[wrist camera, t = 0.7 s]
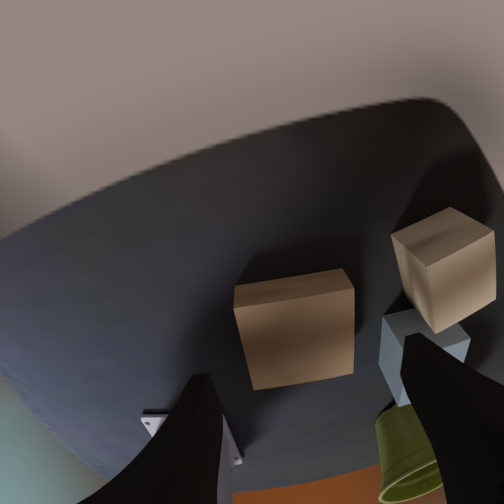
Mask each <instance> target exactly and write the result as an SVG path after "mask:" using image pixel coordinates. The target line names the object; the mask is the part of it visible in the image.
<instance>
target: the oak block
mask: <svg viewBox="0 0 504 504" xmlns="http://www.w3.org/2000/svg"><path fill="white" fill-rule="evenodd" d="M233 309H234V313H235V317H236V321H237V325H238V330H239V334H240V338H241V342H242V346H243V350H244V354H245V358H246V362H247V366H248V370H249V374H250V377H251V381H252V385H253V389H254V390H259V389H267V388H274V387H281V386H288V385H294V384H300V383H306V382H312V381H317V380H323V379H328V378H333V377H338V376H342V375H347V374H352V373H353V364H354V322H355V300H354V287H353V285H352V283H351V282H350V280H349V278H348V277H347V275H346V273H345V272H344V270H343V268H340V269H335V270H329V271H323V272H317V273H311V274H305V275H299V276H293V277H287V278H281V279H275V280H269V281H262V282H256V283H250V284H243V285H237V286H235V292H234V307H233Z"/></svg>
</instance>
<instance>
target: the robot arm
mask: <svg viewBox="0 0 504 504" xmlns="http://www.w3.org/2000/svg"><path fill="white" fill-rule="evenodd" d="M400 377H401V380H402V383H403V386H404V388H405V391H406V394H407V397H408V399H409V401H410V403H411V405H412V407H413V409H414V411H415V413H416V414H417V416H418V418H419V420H420V422H421V424H422V426H423V428H424V430H425V433H426V435H427V437H428V439H429V441H430V443H431V446H432V448H433V451H434V454H435V457H436V460H437V464H438V467H439V471H440V474H441V478H442V482H443V486H444V490H445V495H446V500H447V504H504V385H502V384H500V383H498V382H496V381H494V380H492V379H490V378H488V377H486V376H484V375H482V374H481V373H479V372H477V371H476V370H474V369H472V368H471V367H469V366H467V365H466V364H464V363H463V362H461V361H460V360H458V359H457V358H455V357H454V356H452V355H451V354H450V353H448V352H447V351H445V350H444V349H442V348H441V347H440V346H438V345H437V344H435V343H434V342H433V341H431V340H430V339H429V338H427V337H426V336H424V335H423V334H421V333H420V332H418V333H414V334H411V335H407V336H405V340H404V348H403V356H402V363H401V369H400ZM141 421H142V422H143V424H144V425H145V427H146V428H147V430H148V431H149V433H150V434H151V436H152V439H151V440H150V441H149V442H148V444H147V445H146V446H145V447H144V448H143V450H142V451H141V452H140V453H139V454H138V455H137V456H136V457H135V458H134V459H133V460H132V461H131V462H130V463H129V464H128V465H127V466H126V467H125V468H124V469H123V470H122V471H121V472H120V473H119V474H118V475H117V476H116V477H114V478H113V479H112V480H111V481H109V482H108V483H107V484H106V485H105V486H103V487H102V488H101V489H99V490H98V491H97V492H95V493H94V494H92V495H90V496H89V497H87V498H86V499H84V500H82V501H81V502H79V503H77V504H232V501H233V465H235V464H241V463H243V459H242V457H241V455H240V452H239V450H238V448H237V445H236V443H235V441H234V438H233V436H232V433H231V431H230V428H229V426H228V424H227V421H226V419H225V416H224V414H223V408H222V405H221V403H220V400H219V398H218V396H217V393H216V391H215V388H214V386H213V383H212V380H211V378H210V375H209V373H206V374H196V375H192V376H191V377H190V379H189V381H188V383H187V384H186V386H185V388H184V390H183V391H182V393H181V395H180V397H179V398H178V400H177V402H176V403H175V405H174V407H173V408H172V410H171V411H170V413H169V414H144V415H141Z"/></svg>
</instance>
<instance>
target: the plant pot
mask: <svg viewBox="0 0 504 504" xmlns="http://www.w3.org/2000/svg"><path fill="white" fill-rule="evenodd" d="M375 427H376V434H377V440H378V447H379V454H380V461H381V470H382V480H381V492H380V493H379V496H378V498H379V501H380V502H382V503H397V502H403V501H407V500H410V499H413V498H416V497H419V496H422V495H424V494H427V493H428V492H431V491H432V490H435V489H437V488H439V487H440V486H442V485H443V482H442V478H441V474H440V471H439V467H438V464H437V460H436V457H435V454H434V451H433V448H432V446H431V443H430V441H429V439H428V437H427V435H426V433H425V430H424V428H423V426H422V424H421V422H420V420H419V418H418V416H417V414H416V413H415V411H414V409H413V407H412V405H411V404H407V405H404V406H401V407H398V406H397V403H395V405H394V406H393V407H392V408H390V409H389V410H386V411H383V412H382V413H381V414H380V416H379V417H378V418H377V420H376V424H375Z"/></svg>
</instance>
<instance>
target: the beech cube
mask: <svg viewBox="0 0 504 504" xmlns="http://www.w3.org/2000/svg"><path fill="white" fill-rule="evenodd" d="M391 238H392V242H393V245H394V249H395V253H396V257H397V261H398V266H399V270H400V274H401V279H402V283H403V288H404V293H405V295H406V297H407V298H408V299H409V300H410V302H411V303H412V304H413V305H414V307H415V308H416V309H417V311H418V312H419V313H420V314H421V316H422V317H423V318H424V320H425V321H426V322H427V324H428V325H429V326H430V328H431V329H432V330H433V332H434V333H435V334H437V333H439V332H441V331H443V330H444V329H446V328H448V327H450V326H452V325H453V324H455V323H457V322H459V321H461V320H462V319H464V318H466V317H467V316H469V315H471V314H472V313H474V312H476V311H477V310H479V309H481V308H482V307H484V306H486V305H487V304H489V303H490V302H492V301H493V300H495V299H496V258H495V240H494V231H493V230H491V229H490V228H488V227H486V226H484V225H483V224H481V223H479V222H477V221H476V220H474V219H472V218H470V217H468V216H467V215H465V214H463V213H461V212H459V211H457V210H455V209H453V208H452V207H449V208H446V209H444V210H442V211H440V212H438V213H436V214H434V215H432V216H430V217H427V218H425V219H423V220H421V221H419V222H417V223H415V224H412V225H410V226H408V227H406V228H404V229H402V230H399V231H397V232H395V233H393V234H391Z"/></svg>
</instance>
